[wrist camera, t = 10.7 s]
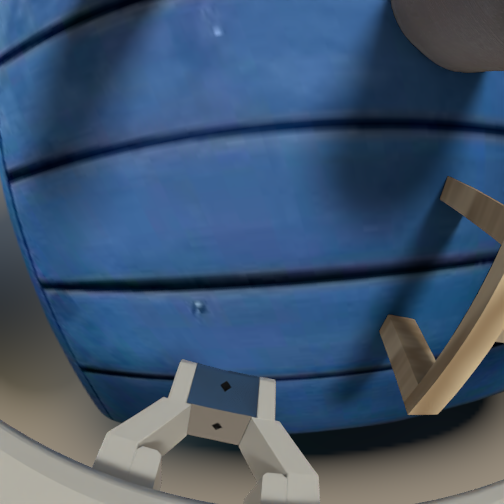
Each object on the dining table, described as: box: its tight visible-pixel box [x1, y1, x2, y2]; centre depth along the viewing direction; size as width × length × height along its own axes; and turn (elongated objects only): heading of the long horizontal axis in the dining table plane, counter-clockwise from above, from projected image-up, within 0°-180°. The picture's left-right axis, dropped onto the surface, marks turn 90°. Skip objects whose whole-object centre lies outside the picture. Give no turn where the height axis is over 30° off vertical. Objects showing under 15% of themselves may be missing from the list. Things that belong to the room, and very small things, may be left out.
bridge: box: [379, 176, 504, 415], centre depth 19 cm, size 3×15×10 cm, turn 167°
